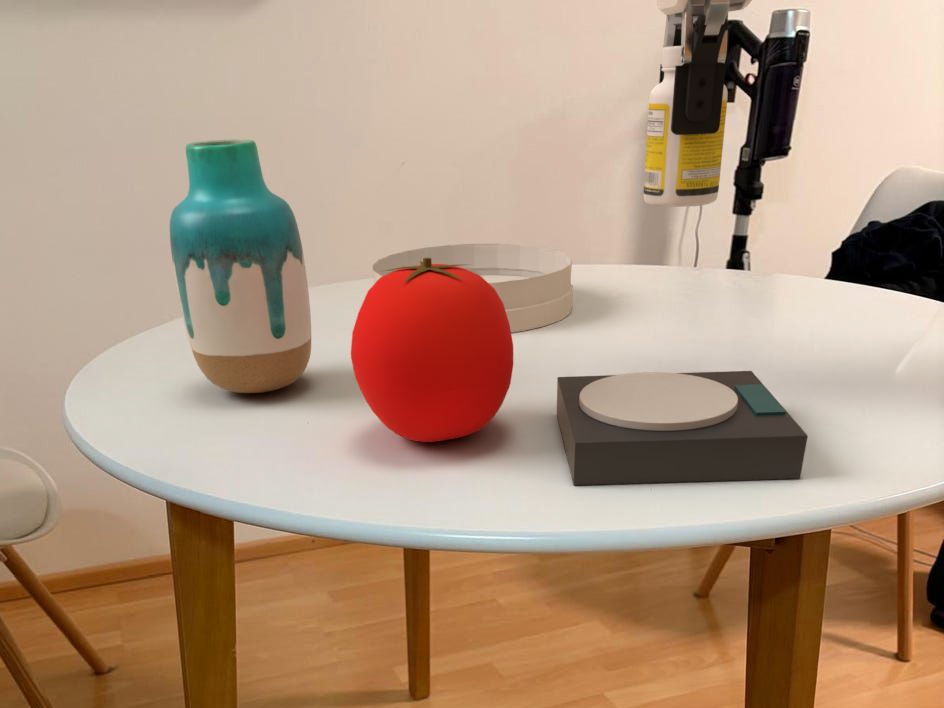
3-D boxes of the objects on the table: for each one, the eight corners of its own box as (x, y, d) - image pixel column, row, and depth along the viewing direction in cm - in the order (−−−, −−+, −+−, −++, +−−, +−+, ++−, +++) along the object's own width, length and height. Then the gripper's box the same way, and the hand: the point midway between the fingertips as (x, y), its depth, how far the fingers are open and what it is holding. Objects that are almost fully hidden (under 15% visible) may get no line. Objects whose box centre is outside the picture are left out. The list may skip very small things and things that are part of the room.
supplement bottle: (727, 198, 68) (744, 42, 63) (702, 210, 64) (718, 44, 59) (658, 196, 71) (669, 45, 65) (631, 206, 67) (640, 47, 61)
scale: (746, 408, 72) (752, 362, 70) (800, 478, 60) (809, 426, 58) (556, 414, 72) (557, 368, 70) (573, 485, 60) (575, 433, 59)
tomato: (444, 399, 76) (436, 237, 69) (547, 432, 69) (550, 255, 62) (324, 439, 69) (302, 264, 62) (425, 481, 62) (412, 287, 55)
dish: (511, 346, 89) (510, 292, 86) (333, 322, 99) (328, 274, 96) (605, 297, 104) (607, 250, 102) (443, 281, 114) (441, 238, 112)
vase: (304, 364, 86) (275, 133, 76) (332, 397, 78) (303, 142, 67) (190, 380, 83) (143, 142, 72) (206, 416, 75) (155, 152, 64)
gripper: (821, -256, 48) (770, 138, 58) (744, -186, 62) (714, 119, 72) (677, -247, 48) (651, 143, 58) (633, -180, 62) (618, 123, 72)
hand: (686, 127), depth 65 cm, fingers closed on supplement bottle, 5 cm apart
